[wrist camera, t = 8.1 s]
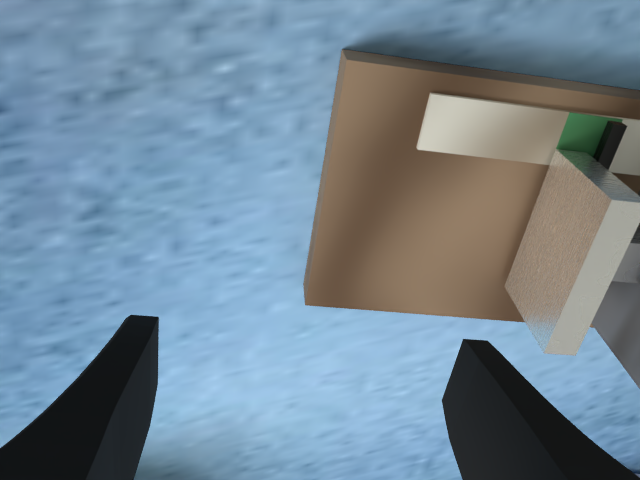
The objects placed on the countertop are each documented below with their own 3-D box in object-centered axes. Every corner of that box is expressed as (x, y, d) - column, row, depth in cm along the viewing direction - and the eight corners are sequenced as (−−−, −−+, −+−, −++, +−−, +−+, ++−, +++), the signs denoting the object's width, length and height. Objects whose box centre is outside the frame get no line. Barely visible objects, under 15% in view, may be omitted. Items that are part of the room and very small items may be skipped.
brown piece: (840, 118, 23) (1020, 190, 18) (717, 318, 28) (827, 424, 22) (342, 49, 20) (368, 108, 15) (303, 284, 25) (312, 394, 20)
